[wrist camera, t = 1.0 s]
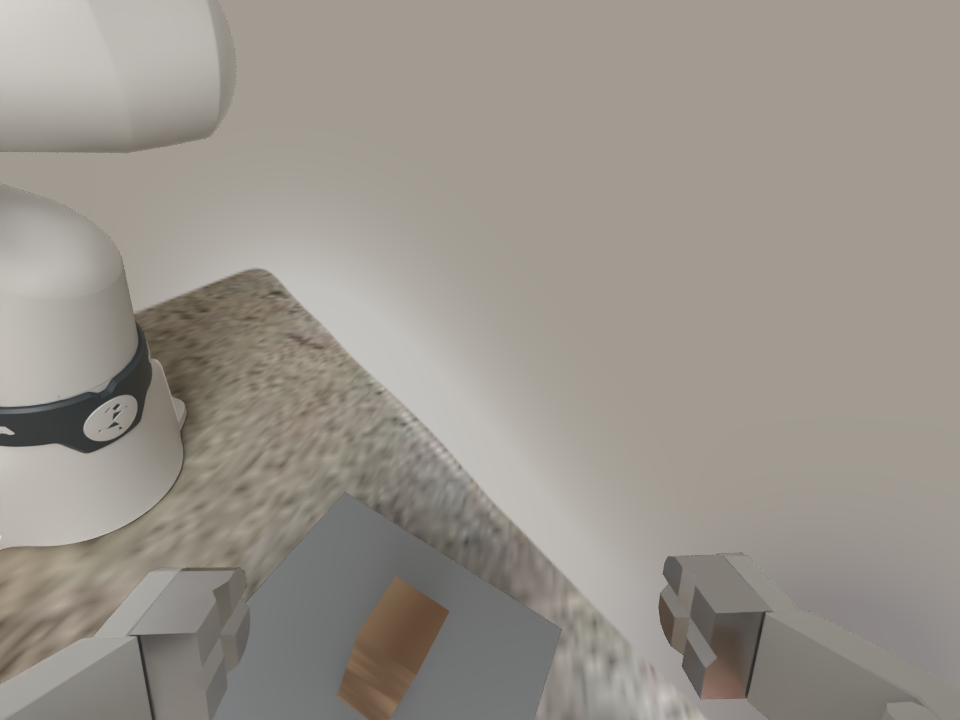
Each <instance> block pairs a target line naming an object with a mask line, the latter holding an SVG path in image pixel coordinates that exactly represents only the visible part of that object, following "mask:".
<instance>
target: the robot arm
mask: <svg viewBox="0 0 960 720" xmlns="http://www.w3.org/2000/svg"><path fill="white" fill-rule="evenodd" d="M235 84H236V55H235V49H234V44H233V39H232V36H231V32H230V28H229V25H228V22H227V20H226V17H225V15H224V12H223V10H222V8H221V6H220V3H219V1H218V0H0V152H85V153H86V152H87V153H88V152H89V153H91V152H92V153H93V152H95V153H130V152H136V151H142V150H148V149H154V148H160V147H166V146H171V145H177V144H182V143H186V142H191V141H196V140H201V139H206V138H208V137H210V136H211V135H212V134H213V133H214V132H215V131H216V130H217V128H218V127H219V126H220V124H221V123H222V121H223V119H224V118H225V116H226V114H227V112H228V110H229V107H230V105H231V102H232V99H233V95H234V90H235ZM186 415H187V410H186V407H185V404H184V402H183V401H181V400H179V399H177V398H175V397H172V396H171V392H170V389H169V386H168V383H167V380H166V377H165V373H164V370H163V367H162V365H161V363H160V362H159V361H158V360H157V359H152V358H151V353H150V349H149V346H148V343H147V340H145V336H144V333H143V331H142V329H141V327H140V326H139V324H138V323H137V322H136V321H135V319H134V314H133V309H132V304H131V299H130V295H129V289H128V285H127V280H126V275H125V270H124V265H123V261H122V257H121V255H120V252H119V250H118V249H117V247H116V245H115V244H114V242H113V241H112V240H111V238H110V237H109V236H108V235H107V234H106V233H105V232H104V231H103V230H102V229H101V228H100V227H99V226H97V225H96V224H95V223H93V222H92V221H91V220H89V219H88V218H86V217H85V216H83V215H81V214H79V213H78V212H76V211H74V210H73V209H71V208H69V207H67V206H65V205H63V204H61V203H58V202H56V201H54V200H51V199H49V198H46V197H43V196H40V195H36V194H34V193H31V192H27V191H24V190H20V189H17V188H14V187H10V186H8V185H5V184H2V183H0V550H1V549H5V548H8V547H16V546H58V545H66V544H72V543H77V542H82V541H86V540H89V539H93V538H96V537H99V536H102V535H105V534H107V533H110V532H112V531H114V530H117V529H119V528H121V527H123V526H125V525H127V524H129V523H130V522H132V521H134V520H135V519H137V518H138V517H140V516H141V515H143V514H144V513H146V512H147V511H148V510H150V509H151V508H152V507H153V506H154V505H156V504H157V503H158V502H159V501H160V500H161V499H162V498H163V497H164V496H165V494H166V493H167V492H168V491H169V490H170V488H171V487H172V485H173V484H174V482H175V481H176V479H177V477H178V475H179V472H180V470H181V467H182V462H183V446H182V441H181V429H182V426H183V424H184V422H185V419H186ZM663 575H664V576H665V578H666V580H667V581H668V583H669V584H668V585H667V586H666V587H665V588H664V590H663V591H662V592H661V593H660V600H659V614H660V622H661V625H662V628H663V631H664V634H665V636H666V638H667V640H668V642H669V644H670V646H671V647H673V648H674V649H675V650H677V651H678V652H680V653H681V654H682V655H684V658H683V663H682V667H683V669H684V671H685V673H686V675H687V676H688V678H689V680H690V682H691V683H692V685H693V687H694V689H695V691H696V692H697V694H698V696H699V698H700V699H747V701H748V702H749V703H750V704H751V705H752V706H753V707H755V708H756V709H757V710H758V711H759V712H761V713H762V714H763V715H764V716H765V717H766V718H768V719H769V720H960V688H958V687H957V686H955V685H953V684H951V683H949V682H947V681H945V680H943V679H941V678H939V677H937V676H935V675H933V674H931V673H929V672H927V671H926V670H924V669H921V668H920V667H918V666H916V665H914V664H912V663H910V662H908V661H906V660H904V659H902V658H900V657H898V656H896V655H894V654H892V653H890V652H888V651H886V650H884V649H883V648H881V647H878V646H877V645H875V644H873V643H871V642H869V641H867V640H865V639H863V638H861V637H859V636H857V635H855V634H853V633H851V632H849V631H847V630H845V629H843V628H841V627H840V626H838V625H836V624H834V623H832V622H830V621H828V620H826V619H824V618H822V617H820V616H818V615H816V614H814V613H812V612H810V611H801V610H800V609H799V608H798V607H797V606H796V605H795V604H794V603H793V602H792V601H791V600H790V599H789V598H788V597H787V596H786V595H785V594H784V593H783V592H782V591H781V589H779V587H778V586H777V585H776V584H775V583H774V582H773V581H772V580H771V579H770V578H769V577H768V576H767V575H766V574H765V573H764V572H763V571H762V570H761V568H760V567H759V566H758V565H757V564H756V563H755V562H754V561H753V560H752V559H751V558H750V557H749V556H748V555H745V554H744V553H741V552H739V553H722V554H716V555H694V556H693V555H691V556H668V557H667V559H666V561H665V564H664V570H663ZM246 587H247V584H246V577H245V571H244V570H242V569H241V568H240V567H227V568H157V569H155V570H153V571H150V572H149V573H148V574H147V575H146V576H145V577H144V579H143V580H142V581H141V582H140V583H139V584H138V586H137V587H136V588H135V589H134V590H133V591H132V592H131V594H130V595H129V596H128V597H127V598H126V599H125V600H124V602H123V603H122V604H121V605H120V606H119V607H118V609H117V610H116V611H115V612H114V613H113V614H112V615H111V617H110V618H109V619H108V620H107V621H106V622H105V623H104V625H103V626H102V627H101V628H100V629H99V630H98V631H97V633H96V634H95V635H94V636H93V637H92V638H82V639H80V640H78V641H76V642H75V643H73V644H71V645H69V646H68V647H66V648H64V649H62V650H60V651H59V652H57V653H55V654H53V655H52V656H50V657H48V658H46V659H44V660H43V661H41V662H39V663H37V664H36V665H34V666H32V667H30V668H28V669H27V670H25V671H23V672H21V673H20V674H18V675H16V676H14V677H12V678H11V679H9V680H7V681H5V682H4V683H2V684H0V720H213V718H214V716H215V714H216V711H217V709H218V707H219V705H220V703H221V701H222V699H223V697H224V695H225V693H226V690H227V688H228V684H227V676H226V674H228V673H229V672H230V671H231V670H232V669H234V668H235V667H236V666H237V665H239V663H240V661H241V658H242V656H243V654H244V652H245V649H246V645H247V641H248V637H249V633H250V610H249V606H248V605H247V604H246V603H245V602H244V601H243V600H242V599H241V597H242V595H243V593H244V591H245V589H246Z"/></svg>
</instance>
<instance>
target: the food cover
mask: <svg viewBox="0 0 960 720" xmlns="http://www.w3.org/2000/svg"><path fill="white" fill-rule="evenodd" d="M246 604H247V605H248V606H249V610H250V633H249V637H248V641H247V645H246V649H245V652H244V654H243V656H242V658H241V661H240V663H239V665H237V666H236V667H235V668H234V669H232V670H231V671H230V672H229V673H228V674H226V676H227V684H228V688H227V690H226V693H225V695H224V697H223V699H222V701H221V703H220V705H219V707H218V709H217V711H216V714H215V716H214V718H213V720H534V718H535V714H536V711H537V708H538V705H539V701H540V698H541V695H542V692H543V689H544V685H545V682H546V679H547V676H548V672H549V669H550V666H551V663H552V660H553V656H554V653H555V650H556V647H557V643H558V640H559V637H560V634H561V631H562V629H561V628H559V627H558V626H556V625H555V624H553V623H551V622H550V621H548V620H547V619H545V618H544V617H542V616H540V615H539V614H537V613H536V612H534V611H533V610H531V609H529V608H528V607H526V606H525V605H523V604H521V603H520V602H518V601H517V600H515V599H514V598H512V597H510V596H509V595H507V594H506V593H504V592H502V591H501V590H499V589H498V588H496V587H495V586H493V585H491V584H490V583H488V582H487V581H485V580H484V579H482V578H480V577H479V576H477V575H476V574H474V573H472V572H471V571H469V570H468V569H466V568H465V567H463V566H461V565H460V564H458V563H457V562H455V561H453V560H452V559H450V558H449V557H447V556H446V555H444V554H442V553H441V552H439V551H438V550H436V549H435V548H433V547H431V546H430V545H428V544H427V543H425V542H423V541H422V540H420V539H419V538H417V537H416V536H414V535H412V534H411V533H409V532H408V531H406V530H404V529H403V528H401V527H400V526H398V525H397V524H395V523H393V522H392V521H390V520H389V519H387V518H386V517H384V516H382V515H381V514H379V513H378V512H376V511H374V510H373V509H371V508H370V507H368V506H367V505H365V504H363V503H362V502H360V501H359V500H357V499H356V498H354V497H352V496H351V495H349V494H348V493H346V492H344V494H343V495H342V496H341V497H340V498H339V499H338V500H337V501H336V502H335V504H334V505H333V506H332V507H331V508H330V509H329V510H328V511H327V513H326V514H325V515H324V516H323V517H322V518H321V519H320V520H319V521H318V523H317V524H316V525H315V526H314V527H313V528H312V529H311V530H310V532H309V533H308V534H307V535H306V536H305V537H304V538H303V539H302V540H301V542H300V543H299V544H298V545H297V546H296V547H295V548H294V549H293V551H292V552H291V553H290V554H289V555H288V556H287V557H286V558H285V559H284V561H283V562H282V563H281V564H280V565H279V566H278V567H277V568H276V570H275V571H274V572H273V573H272V574H271V575H270V576H269V577H268V578H267V580H266V581H265V582H264V583H263V584H262V585H261V586H260V587H259V589H258V590H257V591H256V592H255V593H254V594H253V595H252V596H251V597H250V599H249V600H248V601H247V602H246Z"/></svg>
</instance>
